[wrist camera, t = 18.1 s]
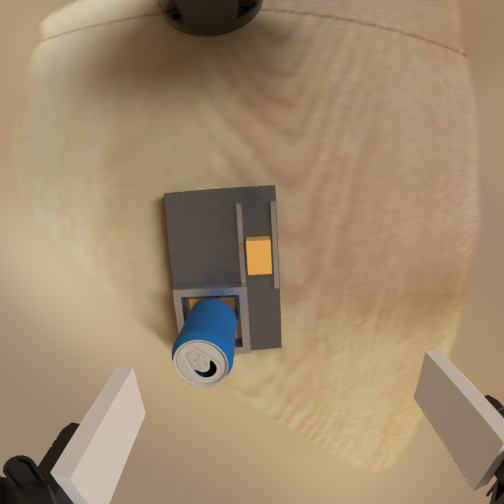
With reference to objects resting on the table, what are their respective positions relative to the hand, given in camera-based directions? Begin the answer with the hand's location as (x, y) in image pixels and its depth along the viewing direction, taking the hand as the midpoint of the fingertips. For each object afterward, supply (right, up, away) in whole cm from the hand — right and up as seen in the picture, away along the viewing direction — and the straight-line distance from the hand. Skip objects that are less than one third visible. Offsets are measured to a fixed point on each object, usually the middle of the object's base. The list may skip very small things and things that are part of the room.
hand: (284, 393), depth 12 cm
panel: (-5, +3, +30) cm, 31 cm away
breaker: (-1, +6, +27) cm, 28 cm away
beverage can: (-7, -3, +29) cm, 30 cm away
